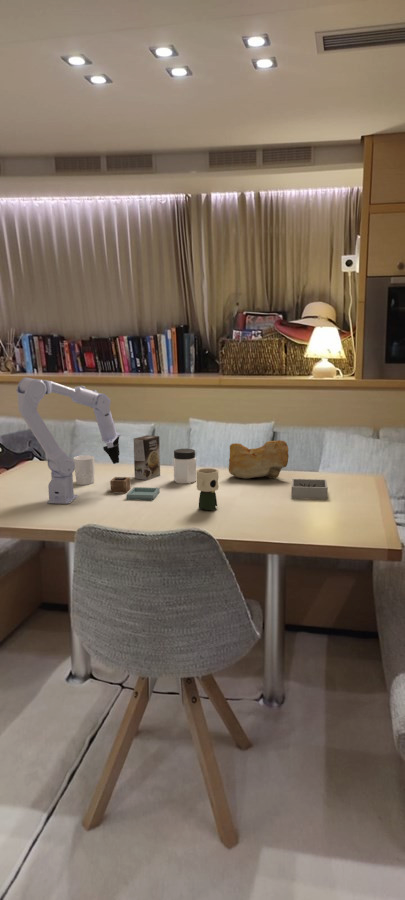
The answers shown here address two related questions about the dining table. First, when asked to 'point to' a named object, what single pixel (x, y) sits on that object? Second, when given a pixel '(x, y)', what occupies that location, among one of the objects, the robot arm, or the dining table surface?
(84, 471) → the white cup
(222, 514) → the dining table surface
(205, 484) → the character mug
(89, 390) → the robot arm
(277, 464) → the rough brown rock
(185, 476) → the jar
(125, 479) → the collar
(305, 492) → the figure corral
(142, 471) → the coffee box
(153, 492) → the tray
